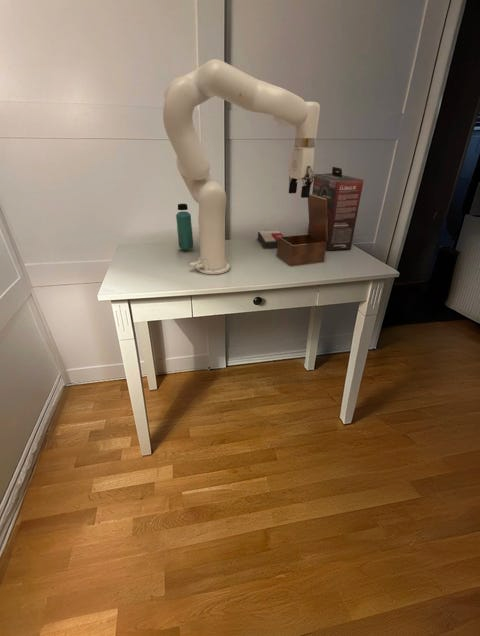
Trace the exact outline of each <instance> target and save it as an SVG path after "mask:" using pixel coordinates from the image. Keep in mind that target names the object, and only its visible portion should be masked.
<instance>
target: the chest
mask: <svg viewBox="0 0 480 636" xmlns="http://www.w3.org/2000/svg"><path fill="white" fill-rule="evenodd" d="M326 245H327V242H326V241H324V240H322V239H320V238H318V237H316V236H314V235H312V234H308V233H305V234H294V235H283V237H278V245H277V248H276V257H278V258H279V259H280V260H281V261H283V262H284V263H285V264H287V265H288V266H290V267H295V266H303V265H309V264H316V263H317V264H318V263H324V262H325V258H326V252H327V250H326Z"/></svg>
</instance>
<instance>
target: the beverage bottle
mask: <svg viewBox="0 0 480 636" xmlns="http://www.w3.org/2000/svg"><path fill="white" fill-rule="evenodd" d="M188 207H189V206H188V204H187V203H178V204H177V210H178V212H177V213H176V215H175V218H176V230H177V232H176V233H177V239H178V240H177V241H178V247H179V250H184V251H185V250H186V251H187V250H192V249H193V248H194V238H193V226H192V225H193V224H192V214H191V213H190V212H189V211H187V210H189V208H188Z"/></svg>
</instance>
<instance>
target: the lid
mask: <svg viewBox="0 0 480 636" xmlns="http://www.w3.org/2000/svg"><path fill="white" fill-rule="evenodd" d="M332 201H333V198H331V197H328V196H325V195H322V196H321V197H319V196H315V195H312V193H310V194H309V197H308V198H307V208H308V209H307V210H308V226H309V228H310V233H311V234H313V235H315V236H317V237H319V238H321V239H323V240H325V241H328V222H327V202H328V203H332Z"/></svg>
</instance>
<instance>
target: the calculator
mask: <svg viewBox="0 0 480 636" xmlns="http://www.w3.org/2000/svg"><path fill="white" fill-rule="evenodd" d="M283 236H284V235H283V233H282V232H281V231H280V230H260V231H258V232H257V240H258V242H260V243H261V245H262V248H263V249H277V245H278V237H283Z"/></svg>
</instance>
